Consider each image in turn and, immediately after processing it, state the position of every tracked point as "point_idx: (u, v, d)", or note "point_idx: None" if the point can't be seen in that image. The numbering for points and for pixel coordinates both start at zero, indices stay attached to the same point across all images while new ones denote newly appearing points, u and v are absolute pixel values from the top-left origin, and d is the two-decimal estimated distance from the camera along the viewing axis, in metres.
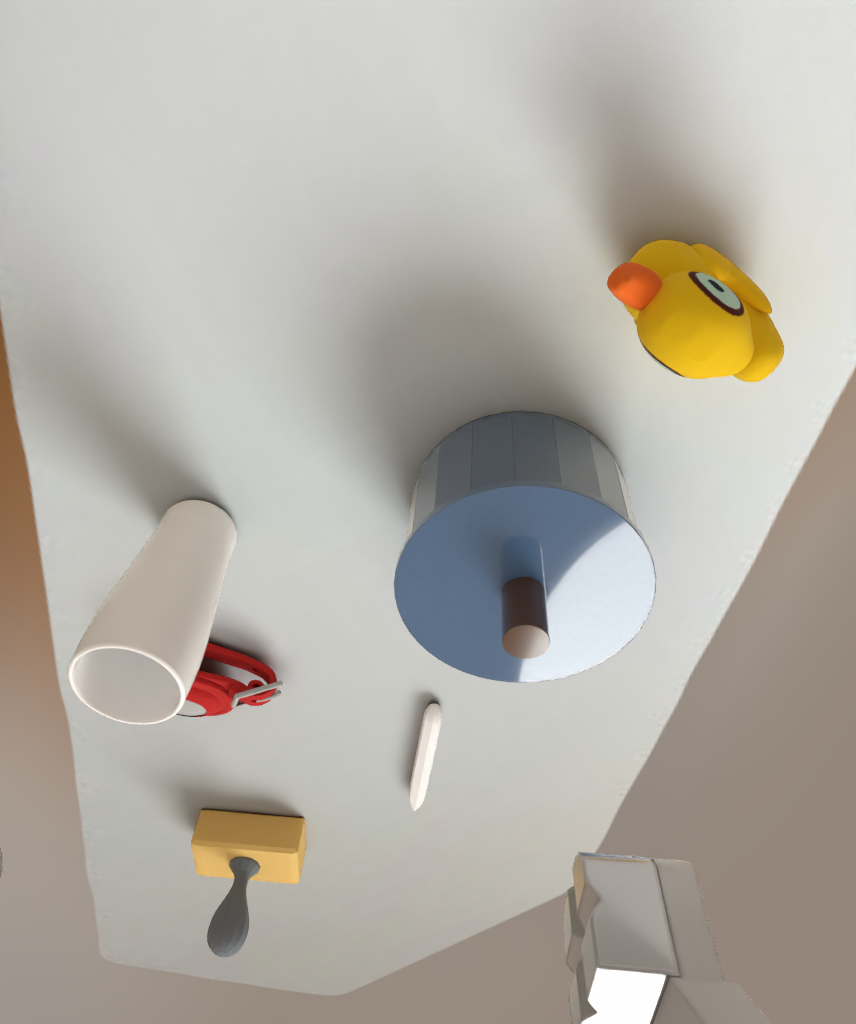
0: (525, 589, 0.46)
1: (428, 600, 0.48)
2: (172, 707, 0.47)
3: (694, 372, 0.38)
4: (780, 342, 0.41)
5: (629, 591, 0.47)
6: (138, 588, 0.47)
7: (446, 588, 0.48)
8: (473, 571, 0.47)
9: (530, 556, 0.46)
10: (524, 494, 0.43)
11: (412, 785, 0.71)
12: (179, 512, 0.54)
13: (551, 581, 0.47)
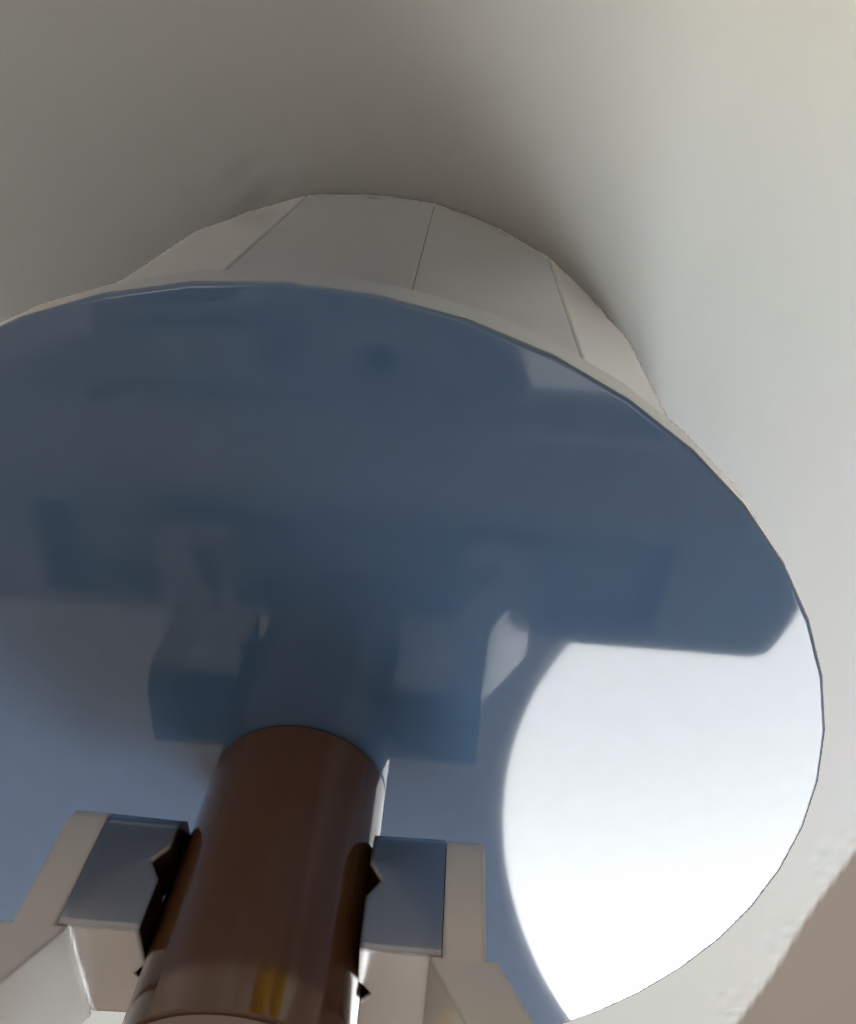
0: (275, 785, 0.11)
1: None
2: None
3: None
4: None
5: (710, 785, 0.12)
6: None
7: (6, 765, 0.12)
8: (86, 702, 0.12)
9: (300, 642, 0.11)
10: (213, 333, 0.09)
11: None
12: None
13: (403, 743, 0.12)
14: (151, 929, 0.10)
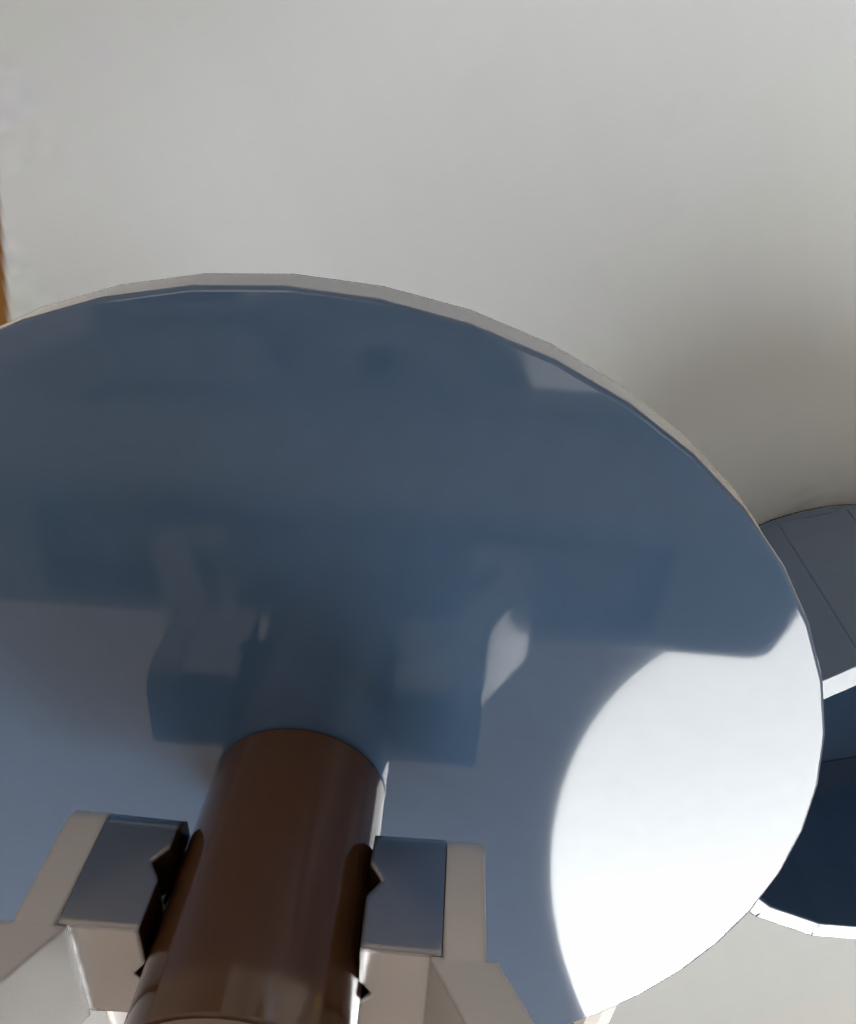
0: (276, 788, 0.11)
1: None
2: None
3: None
4: None
5: (711, 788, 0.12)
6: None
7: (6, 768, 0.12)
8: (87, 705, 0.12)
9: (300, 645, 0.11)
10: (213, 337, 0.09)
11: None
12: None
13: (403, 746, 0.12)
14: (151, 929, 0.10)
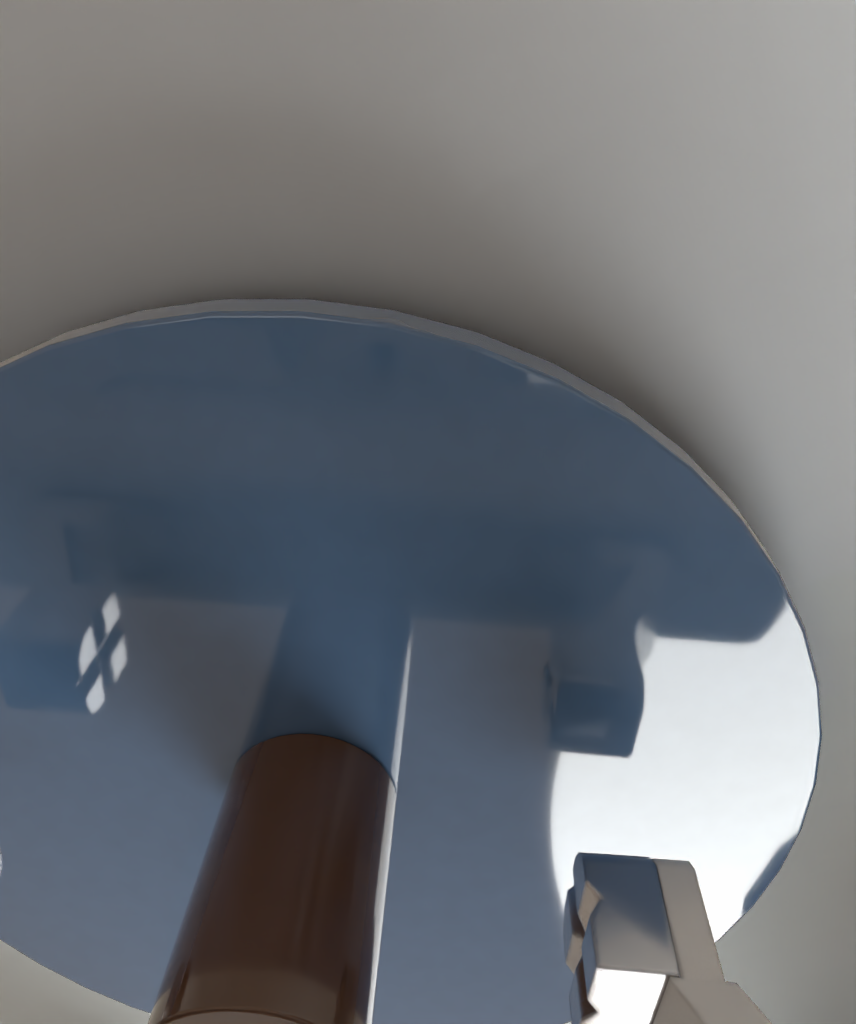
0: (292, 792, 0.11)
1: None
2: None
3: None
4: None
5: (712, 789, 0.12)
6: None
7: (29, 773, 0.13)
8: (108, 712, 0.12)
9: (314, 653, 0.11)
10: (232, 360, 0.09)
11: None
12: None
13: (413, 749, 0.12)
14: None
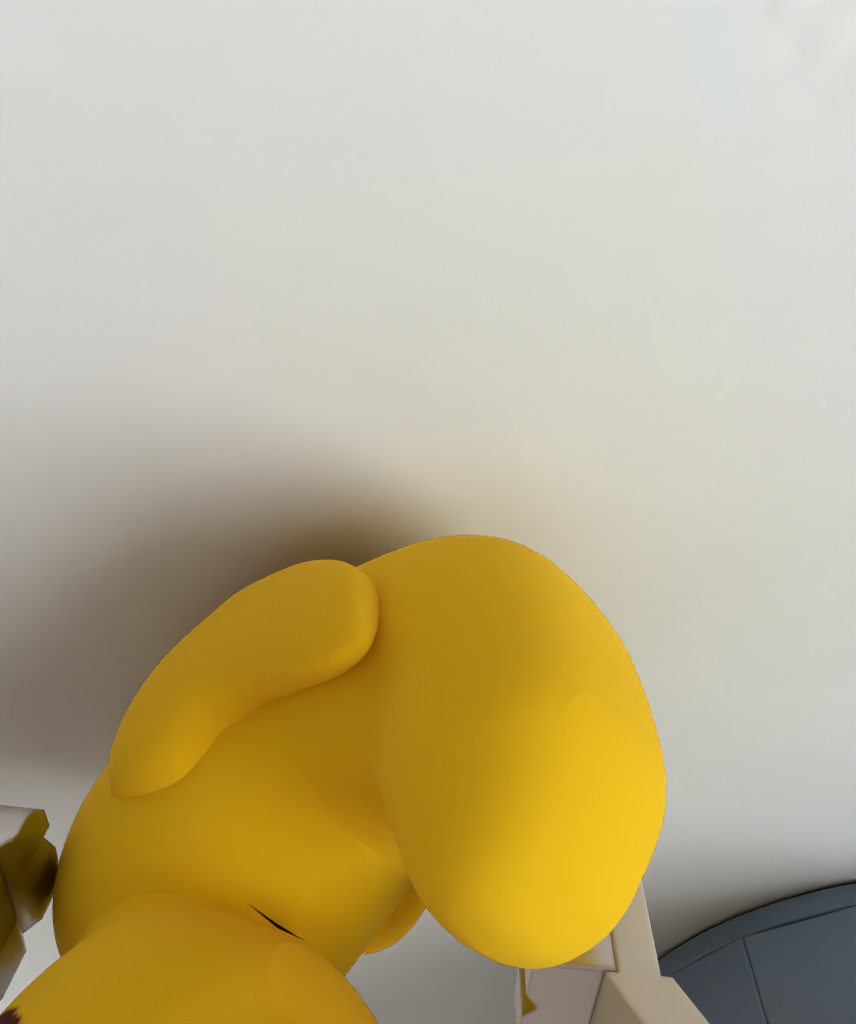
0: None
1: None
2: None
3: None
4: (467, 729, 0.07)
5: None
6: None
7: None
8: None
9: None
10: None
11: None
12: None
13: None
14: None
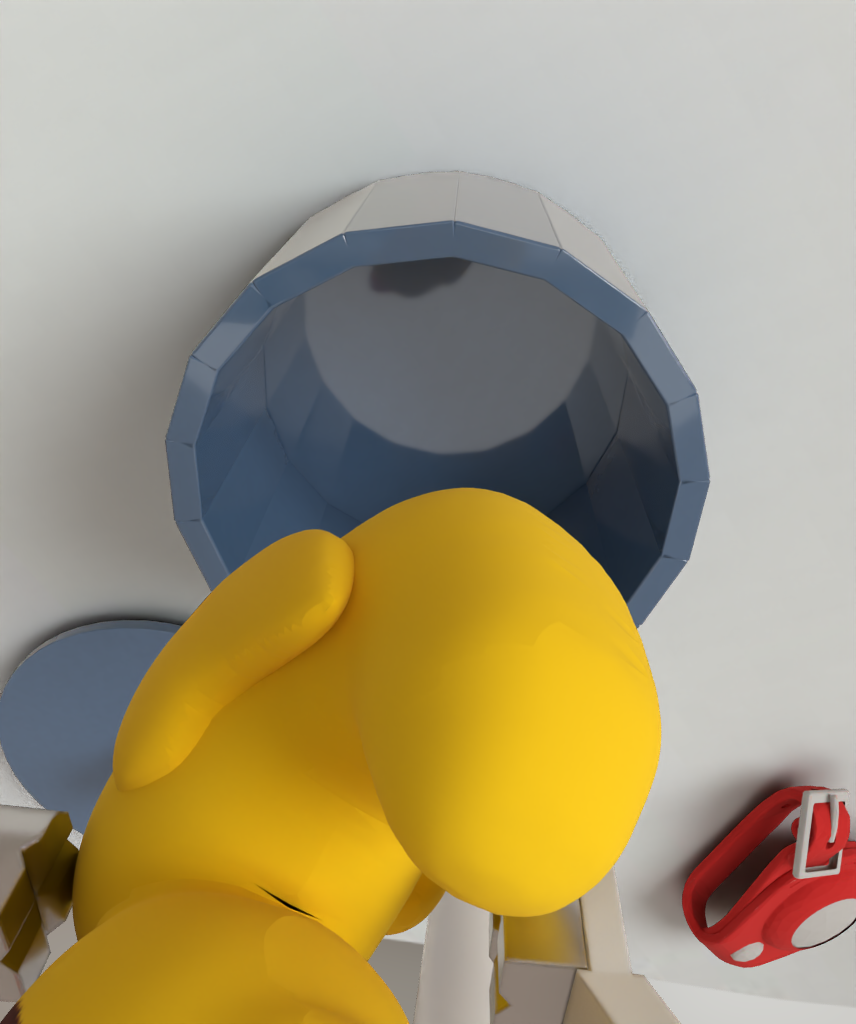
0: None
1: None
2: None
3: None
4: (434, 671, 0.07)
5: (129, 656, 0.35)
6: None
7: None
8: None
9: (102, 752, 0.38)
10: (16, 758, 0.38)
11: None
12: None
13: None
14: (16, 917, 0.10)
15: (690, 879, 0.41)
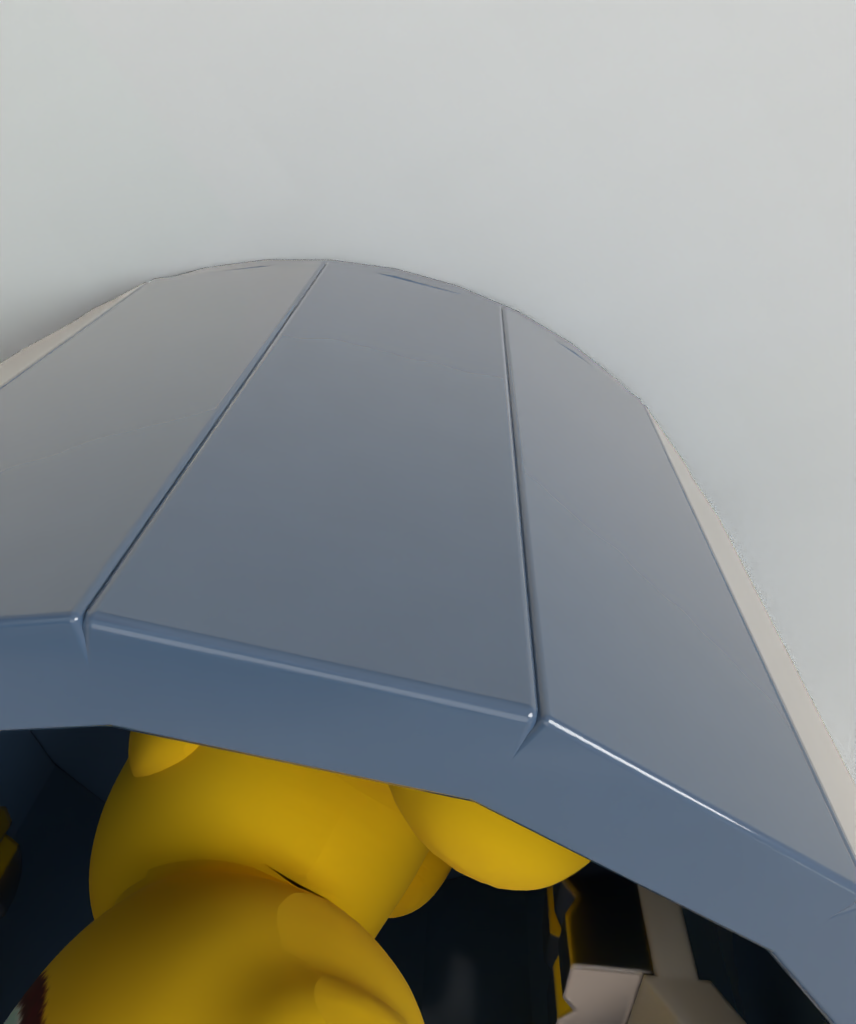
0: None
1: None
2: None
3: None
4: None
5: None
6: None
7: None
8: None
9: None
10: None
11: None
12: None
13: None
14: None
15: None
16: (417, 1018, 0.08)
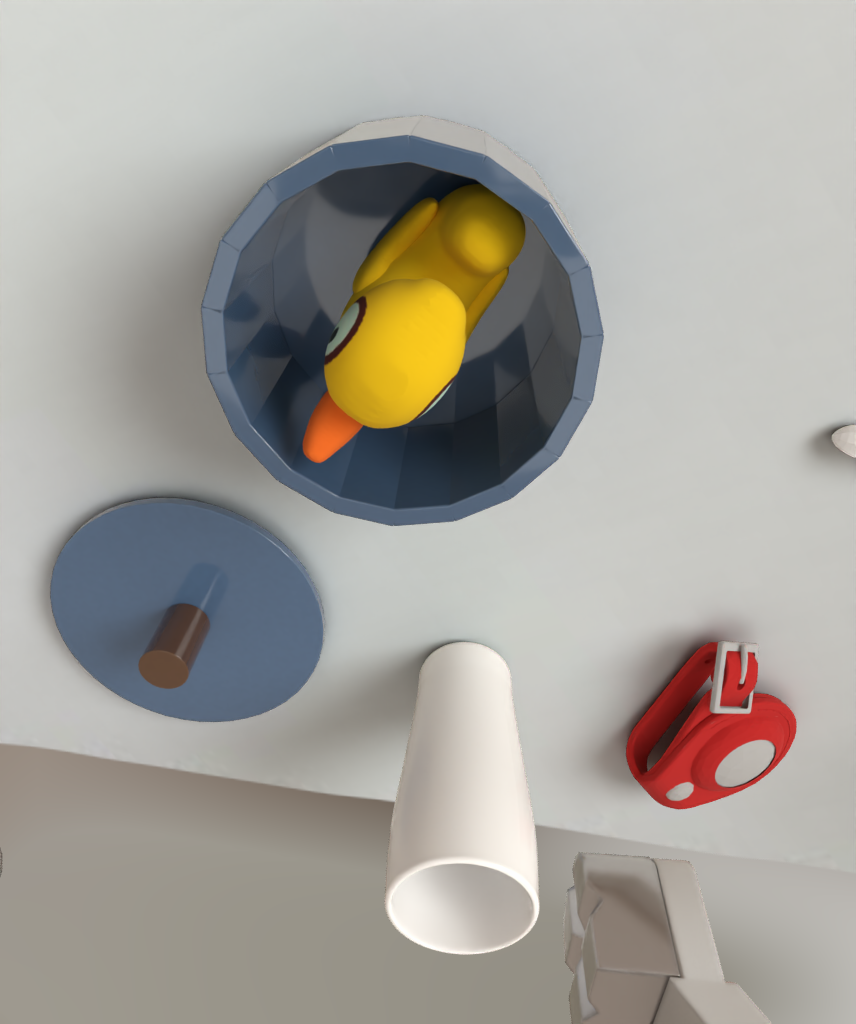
0: None
1: (215, 697, 0.48)
2: None
3: (430, 383, 0.28)
4: (465, 203, 0.29)
5: (161, 528, 0.42)
6: None
7: (195, 683, 0.47)
8: None
9: (137, 617, 0.45)
10: (65, 623, 0.46)
11: None
12: None
13: (164, 598, 0.44)
14: None
15: (632, 733, 0.48)
16: None
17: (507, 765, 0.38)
